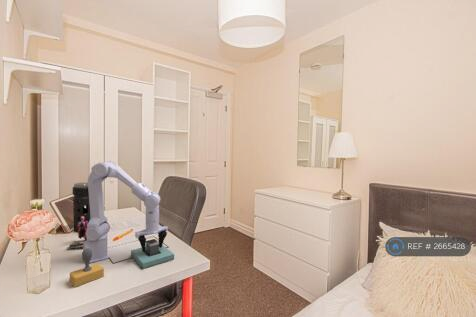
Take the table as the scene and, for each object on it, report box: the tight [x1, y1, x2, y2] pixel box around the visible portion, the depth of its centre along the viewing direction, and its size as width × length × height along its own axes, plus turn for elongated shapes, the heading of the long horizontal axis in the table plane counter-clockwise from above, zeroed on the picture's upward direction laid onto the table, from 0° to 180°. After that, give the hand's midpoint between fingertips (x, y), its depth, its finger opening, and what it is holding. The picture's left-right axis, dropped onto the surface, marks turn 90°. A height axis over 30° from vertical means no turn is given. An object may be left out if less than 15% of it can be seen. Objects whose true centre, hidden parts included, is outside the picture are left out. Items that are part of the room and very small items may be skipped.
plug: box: [145, 238, 159, 257], centre depth 109 cm, size 4×5×7 cm
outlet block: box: [130, 244, 175, 270], centre depth 110 cm, size 14×16×2 cm
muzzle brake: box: [72, 182, 91, 234], centre depth 142 cm, size 10×28×10 cm
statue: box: [66, 217, 88, 250], centre depth 121 cm, size 11×9×15 cm
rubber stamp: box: [69, 248, 105, 288], centre depth 91 cm, size 10×6×12 cm, turn 140°
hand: (152, 249), depth 109 cm, fingers open, 7 cm apart
